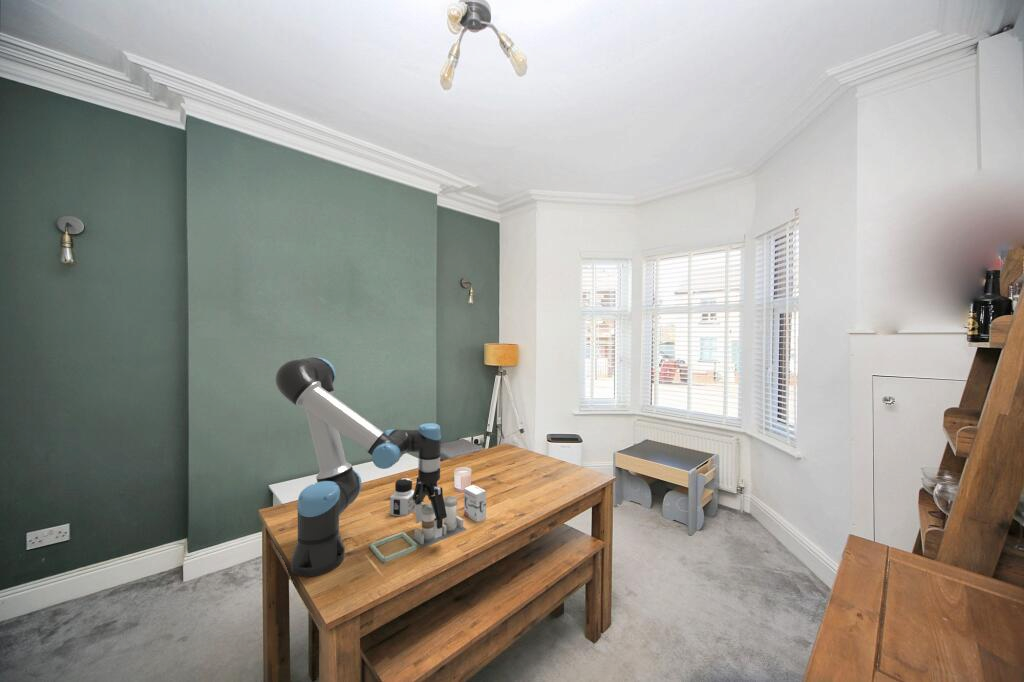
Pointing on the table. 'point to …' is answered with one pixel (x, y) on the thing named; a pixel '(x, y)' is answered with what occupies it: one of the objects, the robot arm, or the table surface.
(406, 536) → the parts tray
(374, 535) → the table surface
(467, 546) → the table surface
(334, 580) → the table surface
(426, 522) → the cylinder
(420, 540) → the fuse block
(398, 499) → the container
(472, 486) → the ink box
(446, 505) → the cylinder
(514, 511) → the table surface
